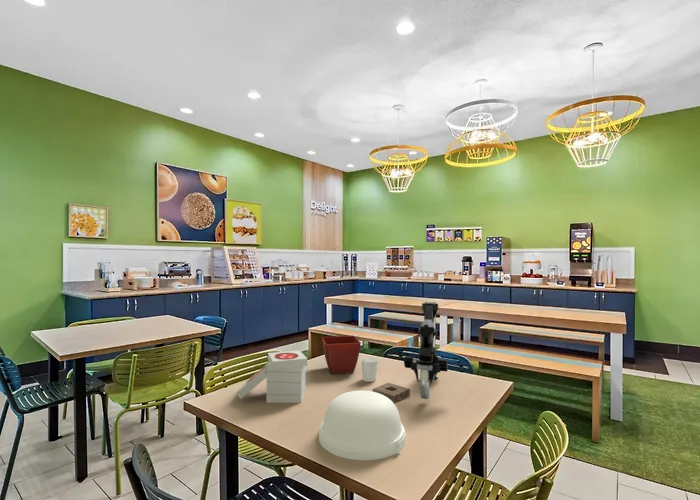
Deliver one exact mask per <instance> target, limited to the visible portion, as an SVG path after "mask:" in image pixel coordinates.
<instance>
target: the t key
mask: <svg viewBox="0 0 700 500" xmlns="http://www.w3.org/2000/svg"><path fill="white" fill-rule="evenodd" d="M432 368H433V365H425V364H417V369H418V370H420V373H419V374H420V384H419V385H420V388H419V389H420V393H419V394H420V395H419V397H420V399H422V400H428V399H429V398H430V380H429V370H431V371H432Z"/></svg>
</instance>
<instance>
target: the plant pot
mask: <svg viewBox="0 0 700 500" xmlns="http://www.w3.org/2000/svg"><path fill="white" fill-rule="evenodd" d="M321 340H322V347H323V348H322V349H323V353H324V357H325V363H326V365H327V369H328V371H329V374H331V375H333V374H334V375H335V374H351V373H354V372H355V370H356V368H357V367H356V366H357V365H358V364H357V363H358V360H359V355H360V351H361V344H362V343H361V342H360V341H361V340H359V339H358V338H357V337H356V336H355V335H340V336H338V335H337V336H323V337H321Z"/></svg>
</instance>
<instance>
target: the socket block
mask: <svg viewBox="0 0 700 500" xmlns="http://www.w3.org/2000/svg"><path fill="white" fill-rule="evenodd" d="M372 392H376V393H379V394H382V395H384V396H386V397H387V398H389V399H390V400H391V401H392V402H393V403H394V404H396V403H397V402H399V401H401V400H404V399H406V398H408V397H409V396H411V388H409V387H406V386H401V385H398V384H395V383H391V382H386V383H384V384H381V385H379V386H377V387H374V388H372Z"/></svg>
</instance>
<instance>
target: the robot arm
mask: <svg viewBox="0 0 700 500" xmlns="http://www.w3.org/2000/svg"><path fill="white" fill-rule="evenodd" d="M421 311H423V315H424V316H423V321H422V322H421V323H420V327H419V329H418V332H417V333H418V336H419V341H420V346H419V348H418V350H419V351H418V352H419V353H418V359H419V360H417V359H414V356H406V355H405V356H404V358H403V365H404V368H406V369H410V370H412V371H413V373H414V374H415V378H416V382H419V369H417V364H425V365H433V368H432V371H431V370H429V381H430V383H431V384H433V382H434V380H438V379H439V377H437V375H438V374H439V373H441V372H448V360H447V359H442V358H439V356H438V355H437V351H436V347H434V341H435V337H437V335H438V331H437V329H436V328H435V318H436V317H437V315H438V312H439V304H438V303H436V302H435V301H434V302H431V301H429V302H427V301H425V302H422V303H421Z"/></svg>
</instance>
